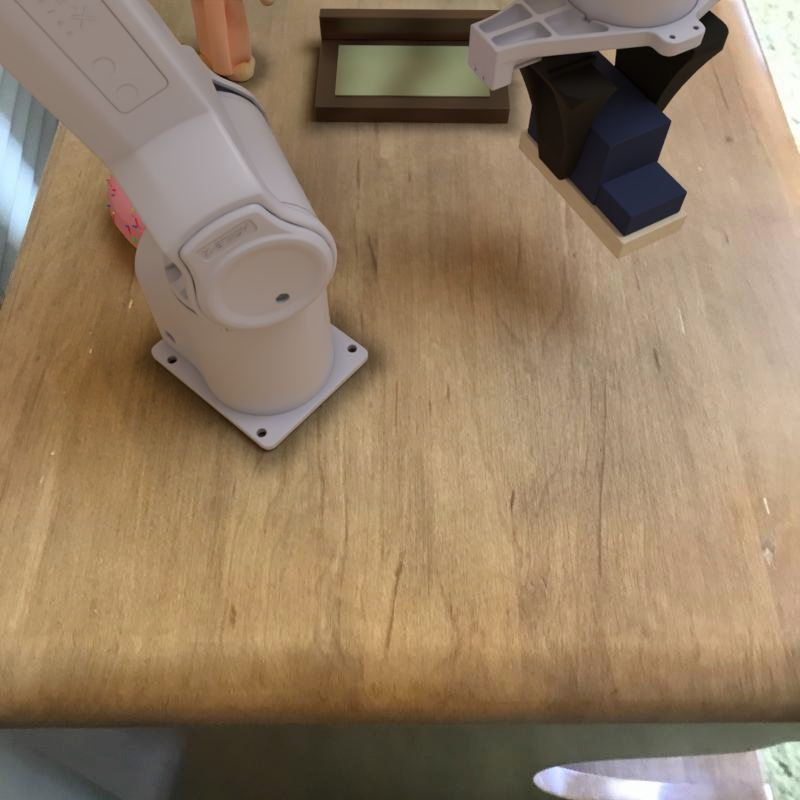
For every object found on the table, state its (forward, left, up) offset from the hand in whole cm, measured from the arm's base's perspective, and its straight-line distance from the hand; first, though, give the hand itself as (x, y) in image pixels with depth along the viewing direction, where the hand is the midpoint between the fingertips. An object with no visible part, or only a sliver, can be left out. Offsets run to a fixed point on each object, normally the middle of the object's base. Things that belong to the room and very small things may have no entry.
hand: (587, 152), depth 43 cm
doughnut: (-19, -11, -9) cm, 24 cm away
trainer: (+1, 0, -1) cm, 2 cm away
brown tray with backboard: (-17, +6, -8) cm, 20 cm away
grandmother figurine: (-28, -1, -9) cm, 29 cm away
